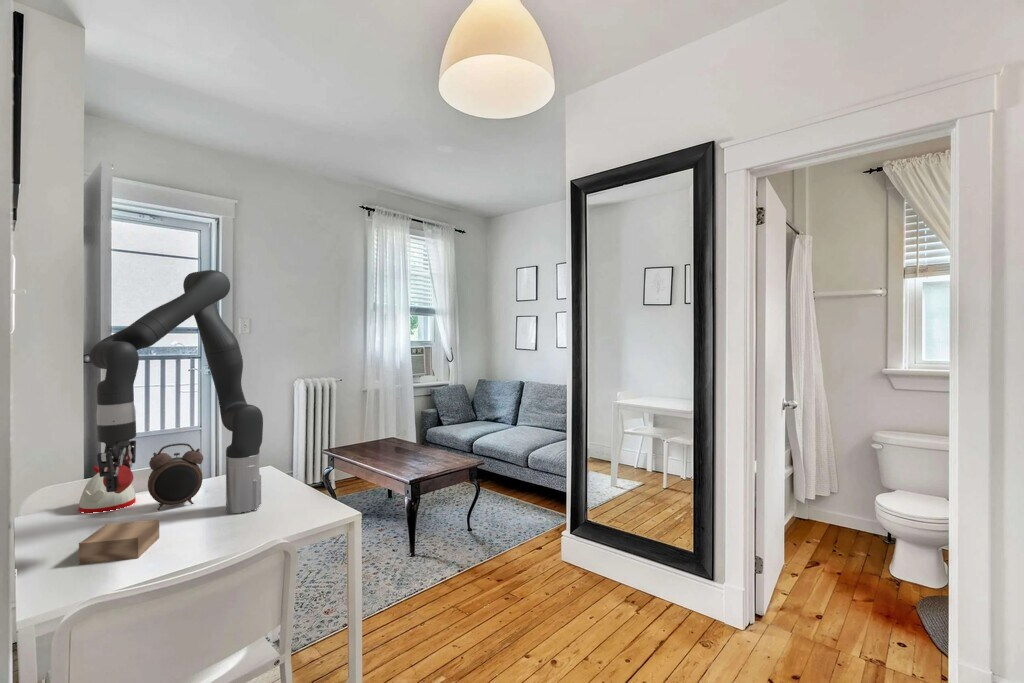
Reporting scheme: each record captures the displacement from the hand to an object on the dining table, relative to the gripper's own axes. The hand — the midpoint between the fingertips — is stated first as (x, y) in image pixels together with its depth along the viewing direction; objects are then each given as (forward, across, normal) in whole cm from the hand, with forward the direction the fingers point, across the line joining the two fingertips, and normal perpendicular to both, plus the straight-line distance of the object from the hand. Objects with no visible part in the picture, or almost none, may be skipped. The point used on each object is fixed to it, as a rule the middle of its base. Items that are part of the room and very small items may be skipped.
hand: (119, 486), depth 119 cm
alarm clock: (+18, +33, -1) cm, 38 cm away
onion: (+2, 0, 0) cm, 2 cm away
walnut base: (+17, +1, 0) cm, 17 cm away
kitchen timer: (+17, +40, +20) cm, 48 cm away
